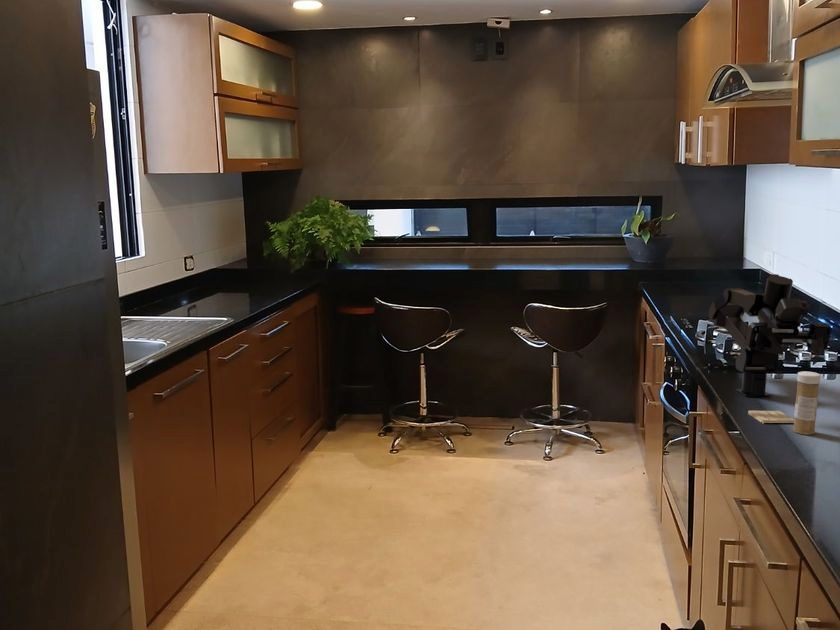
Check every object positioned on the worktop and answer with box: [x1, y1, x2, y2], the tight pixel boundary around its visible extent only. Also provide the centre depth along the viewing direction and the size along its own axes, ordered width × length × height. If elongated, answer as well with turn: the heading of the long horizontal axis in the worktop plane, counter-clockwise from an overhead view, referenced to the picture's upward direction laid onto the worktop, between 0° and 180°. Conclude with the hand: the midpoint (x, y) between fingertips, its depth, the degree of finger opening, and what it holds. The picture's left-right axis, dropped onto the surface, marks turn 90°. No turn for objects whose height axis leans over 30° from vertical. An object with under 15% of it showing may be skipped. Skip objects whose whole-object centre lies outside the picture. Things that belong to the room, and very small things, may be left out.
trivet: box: [747, 410, 794, 425], centre depth 195 cm, size 8×8×1 cm
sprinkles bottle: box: [792, 370, 821, 436], centre depth 184 cm, size 5×5×14 cm
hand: (802, 353), depth 190 cm, fingers open, 9 cm apart
